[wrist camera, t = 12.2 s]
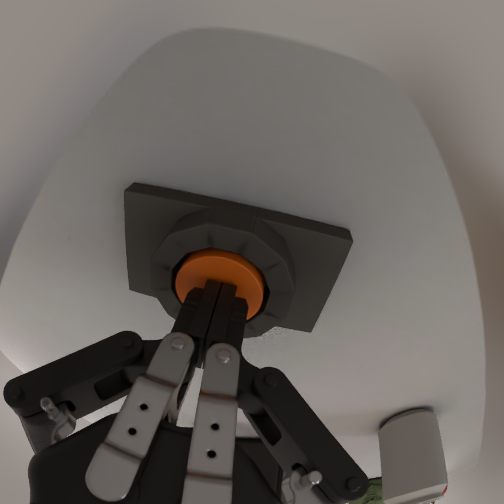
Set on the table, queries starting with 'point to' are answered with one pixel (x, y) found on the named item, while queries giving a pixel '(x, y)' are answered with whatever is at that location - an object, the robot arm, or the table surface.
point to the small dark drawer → (264, 461)
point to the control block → (235, 240)
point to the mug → (372, 493)
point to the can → (412, 459)
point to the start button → (222, 275)
